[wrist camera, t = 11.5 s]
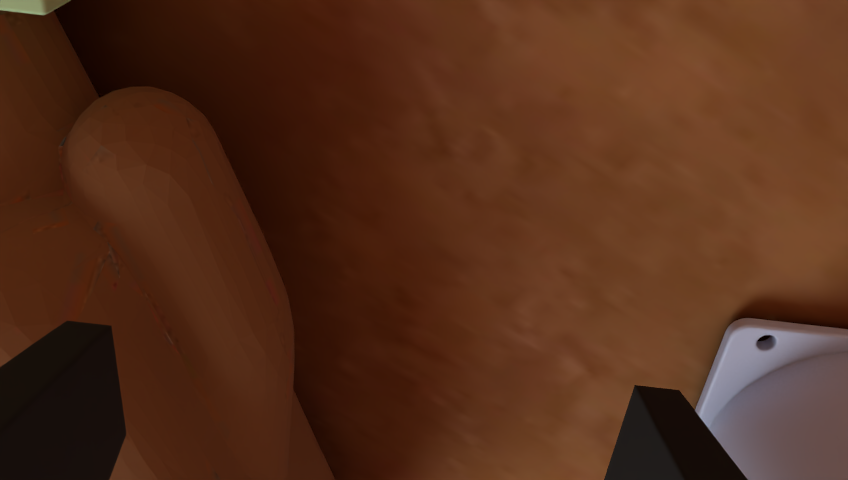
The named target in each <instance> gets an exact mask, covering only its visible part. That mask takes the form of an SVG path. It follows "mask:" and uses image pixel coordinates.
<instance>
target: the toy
mask: <svg viewBox="0 0 848 480" xmlns="http://www.w3.org/2000/svg"><path fill="white" fill-rule="evenodd" d="M66 321H75V322H84V323H93V324H102V325H111V326H112V333H113V340H114V347H115V354H116V362H117V369H118V376H119V383H120V391H121V398H122V405H123V412H124V419H125V427H126V436H125V439H124V442H123V444H122V447H121V450H120V453H119V455H118V458H117V461H116V463H115V466H114V469H113V472H112V474H111V477H110V479H109V480H335V478H334V476H333V474H332V471H331V469H330V467H329V465H328V463H327V461H326V459H325V457H324V455H323V453H322V451H321V449H320V447H319V444H318V442H317V440H316V438H315V436H314V433H313V431H312V429H311V427H310V425H309V423H308V420H307V418H306V416H305V414H304V412H303V409H302V407H301V405H300V403H299V401H298V398H297V396H296V394H295V392H294V390H293V381H294V326H293V320H292V315H291V309H290V304H289V298H288V294H287V291H286V288H285V285H284V283H283V281H282V278H281V276H280V273H279V271H278V268H277V266H276V263H275V261H274V259H273V256H272V254H271V251H270V249H269V246H268V244H267V242H266V239H265V237H264V235H263V233H262V231H261V229H260V227H259V224H258V222H257V220H256V218H255V216H254V214H253V212H252V209H251V207H250V205H249V203H248V201H247V199H246V197H245V194H244V192H243V190H242V188H241V186H240V184H239V182H238V180H237V177H236V175H235V173H234V171H233V169H232V167H231V165H230V162H229V160H228V158H227V156H226V154H225V152H224V150H223V147H222V145H221V143H220V141H219V139H218V137H217V135H216V132H215V131H214V129H213V128H212V126H211V124H210V123H209V121H208V120H207V118H206V116H205V115H204V114H202V113H201V112H200V111H199V110H198V109H196V108H195V107H194V106H193V105H192V104H191V103H189V102H188V101H187V100H185V99H183V98H181V97H179V96H178V95H176V94H174V93H172V92H169V91H165V90H162V89H158V88H154V87H128V88H123V89H119V90H114V91H112V92H110V93H108V94H106V95H104V96H103V97H101V98H99V96H98V94H97V92H96V90H95V89H94V87H93V85H92V83H91V81H90V79H89V77H88V75H87V73H86V71H85V69H84V68H83V66H82V64H81V62H80V60H79V58H78V56H77V54H76V52H75V50H74V48H73V47H72V45H71V43H70V41H69V39H68V37H67V35H66V33H65V31H64V29H63V28H62V26H61V24H60V22H59V20H58V18H57V16H56V14H55V12H54V10H53V11H52V12H50V13H48V14H46V15H37V14H28V13H20V12H11V11H3V10H0V367H1V366H3V365H4V364H5V363H7V362H8V361H10V360H11V359H12V358H14V357H15V356H17V355H18V354H19V353H21V352H22V351H24V350H25V349H27V348H28V347H29V346H31V345H32V344H34V343H35V342H36V341H38V340H39V339H41V338H42V337H44V336H45V335H46V334H48V333H49V332H51V331H52V330H54V329H55V328H57V327H58V326H60V325H61V324H63V323H64V322H66Z"/></svg>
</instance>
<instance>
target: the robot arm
mask: <svg viewBox="0 0 848 480" xmlns="http://www.w3.org/2000/svg"><path fill="white" fill-rule="evenodd" d="M764 335H771V336H770V337H769V338H768V339H766V340H764V341H757V340H758V339H759V338H760V337H762V336H764ZM125 436H126V427H125V419H124V412H123V405H122V398H121V391H120V383H119V376H118V369H117V362H116V354H115V347H114V340H113V333H112V326H111V325H102V324H93V323H84V322H75V321H66V322H64V323H63V324H61V325H60V326H58V327H57V328H55V329H54V330H52V331H51V332H49V333H48V334H46V335H45V336H44V337H42V338H41V339H39V340H38V341H36V342H35V343H34V344H32V345H31V346H29V347H28V348H27V349H25V350H24V351H22V352H21V353H19V354H18V355H17V356H15V357H14V358H12V359H11V360H10V361H8V362H7V363H5V364H4V365H3V366H1V367H0V480H109V479H110V477H111V474H112V472H113V469H114V466H115V463H116V461H117V458H118V455H119V453H120V450H121V447H122V444H123V442H124V439H125ZM604 480H848V329H841V328H833V327H824V326H815V325H807V324H798V323H789V322H780V321H772V320H763V319H754V318H742V319H739V320H736V321H734V322H733V323H732V324H730V325H729V327H728V328H727V330H726V332H725V334H724V337H723V339H722V342H721V344H720V347H719V350H718V352H717V355H716V357H715V360H714V362H713V365H712V368H711V370H710V373H709V375H708V378H707V380H706V383H705V386H704V388H703V391H702V393H701V396H700V399H699V401H698V404H697V406H696V409H695V410H694V409H693V408H692V406H691V405H690V404H689V402H688V401H687V400H686V398H685V397H684V396H683V395H682V393H681V392H680V391H679V390H672V389H663V388H654V387H646V386H637V385H635V387H634V390H633V393H632V396H631V399H630V402H629V405H628V408H627V411H626V414H625V417H624V420H623V423H622V426H621V430H620V433H619V436H618V439H617V442H616V445H615V448H614V451H613V454H612V457H611V460H610V463H609V466H608V469H607V473H606V476H605V479H604Z"/></svg>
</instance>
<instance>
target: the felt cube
mask: <svg viewBox="0 0 848 480" xmlns="http://www.w3.org/2000/svg"><path fill="white" fill-rule="evenodd" d="M69 1H71V0H0V10H3V11H11V12H20V13H28V14H37V15H46V14H48V13H50V12H52V11H53V10H55V9H57V8H59V7H60V6H62V5H64V4H65V3H67V2H69Z"/></svg>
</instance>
